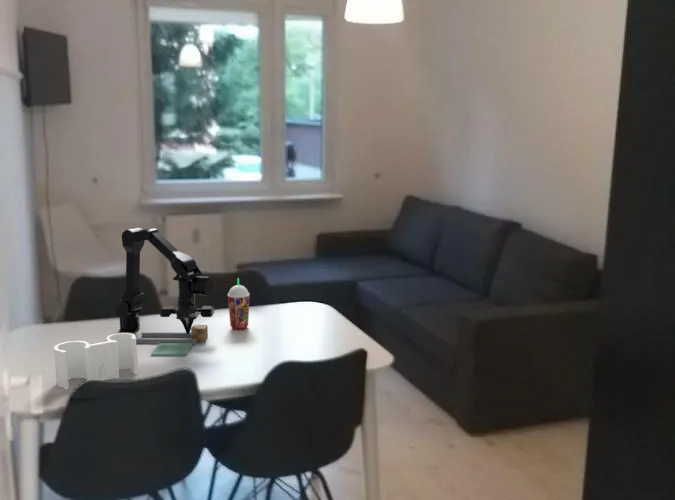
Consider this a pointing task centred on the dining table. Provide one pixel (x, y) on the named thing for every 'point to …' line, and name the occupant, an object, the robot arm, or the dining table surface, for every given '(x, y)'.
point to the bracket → (95, 358)
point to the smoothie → (238, 307)
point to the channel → (165, 340)
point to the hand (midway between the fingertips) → (188, 334)
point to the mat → (172, 349)
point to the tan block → (199, 333)
